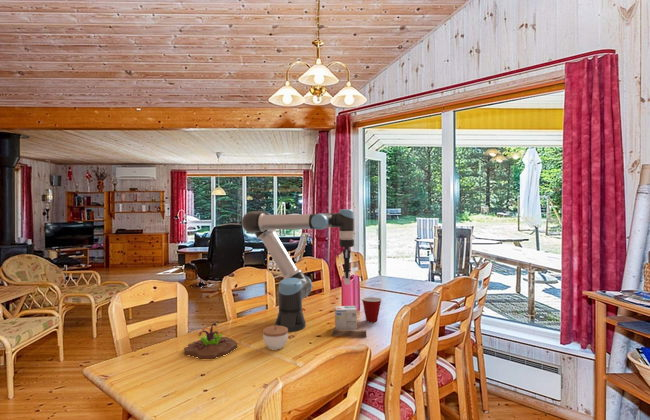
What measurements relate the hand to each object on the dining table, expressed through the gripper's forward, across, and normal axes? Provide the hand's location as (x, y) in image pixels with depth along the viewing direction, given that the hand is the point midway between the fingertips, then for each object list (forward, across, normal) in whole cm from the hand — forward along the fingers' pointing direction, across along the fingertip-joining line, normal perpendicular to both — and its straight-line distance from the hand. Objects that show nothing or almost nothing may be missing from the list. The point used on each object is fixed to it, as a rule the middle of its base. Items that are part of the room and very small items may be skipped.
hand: (347, 284), depth 188 cm
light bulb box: (+20, -10, 0) cm, 23 cm away
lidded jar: (+20, -36, +29) cm, 51 cm away
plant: (+20, -40, +56) cm, 72 cm away
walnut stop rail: (+20, -19, -2) cm, 28 cm away
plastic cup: (+20, +4, -13) cm, 24 cm away
